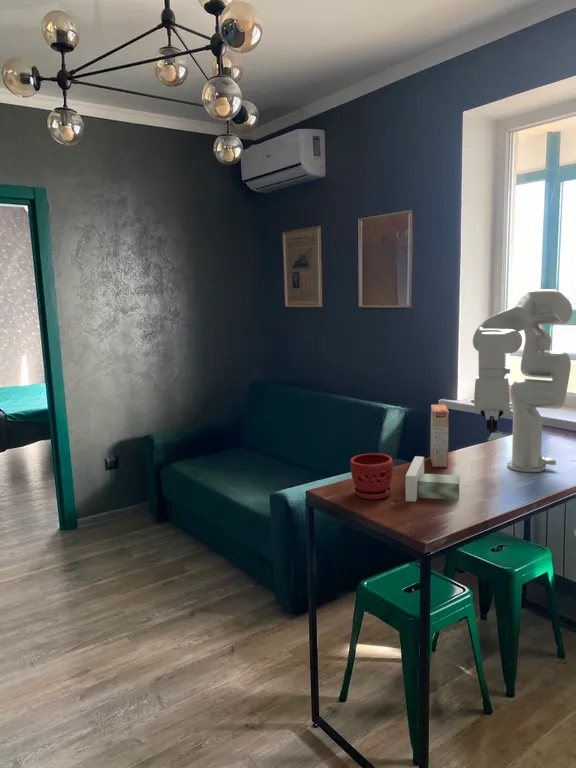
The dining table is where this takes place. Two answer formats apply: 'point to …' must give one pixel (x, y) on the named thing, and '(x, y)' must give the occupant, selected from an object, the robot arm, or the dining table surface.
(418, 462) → the board
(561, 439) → the dining table surface
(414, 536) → the dining table surface
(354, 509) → the dining table surface
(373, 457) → the plant pot
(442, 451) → the cracker box
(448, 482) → the block
